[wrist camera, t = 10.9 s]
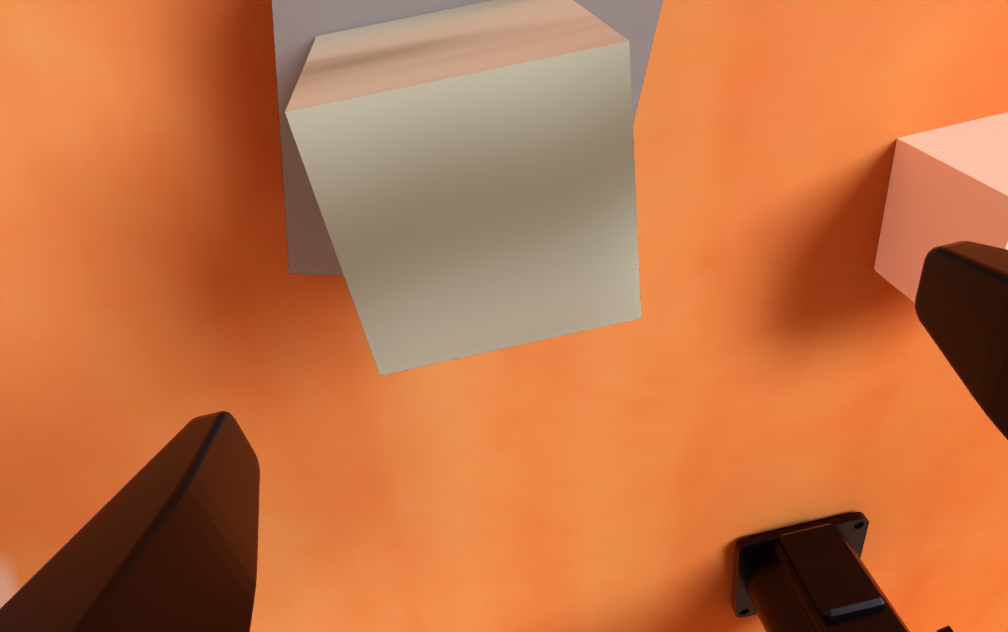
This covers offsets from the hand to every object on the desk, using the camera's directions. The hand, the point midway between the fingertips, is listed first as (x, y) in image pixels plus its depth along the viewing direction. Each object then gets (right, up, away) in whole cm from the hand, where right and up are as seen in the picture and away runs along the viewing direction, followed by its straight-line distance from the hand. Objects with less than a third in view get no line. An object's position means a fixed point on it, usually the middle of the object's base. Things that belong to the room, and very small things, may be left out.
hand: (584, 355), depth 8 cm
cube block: (-2, +5, +6) cm, 8 cm away
